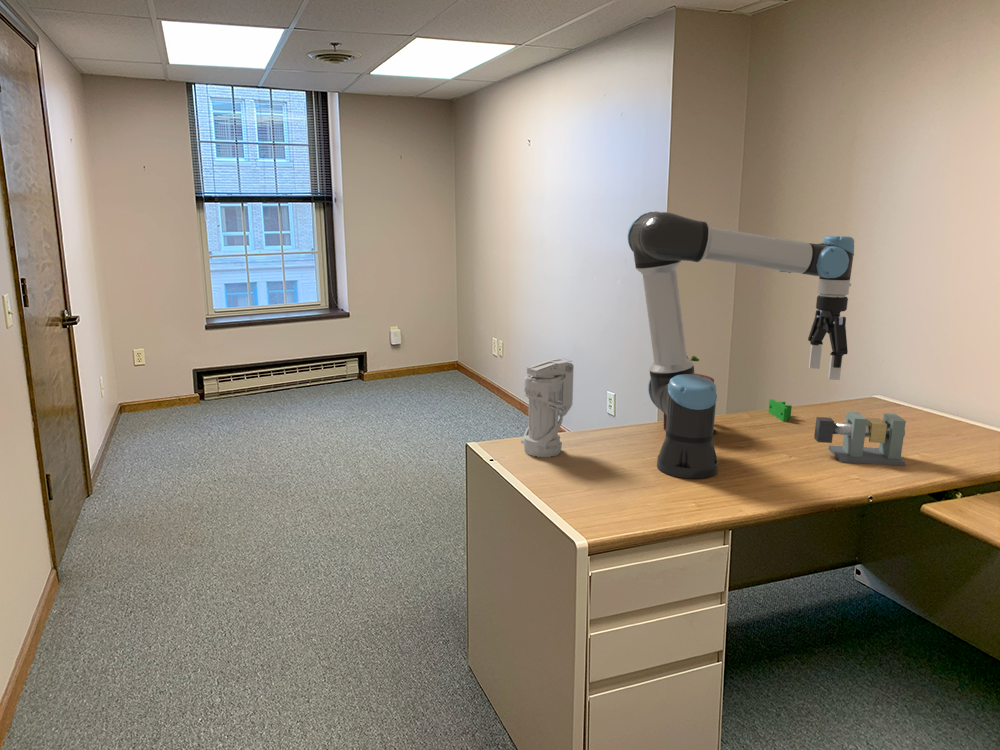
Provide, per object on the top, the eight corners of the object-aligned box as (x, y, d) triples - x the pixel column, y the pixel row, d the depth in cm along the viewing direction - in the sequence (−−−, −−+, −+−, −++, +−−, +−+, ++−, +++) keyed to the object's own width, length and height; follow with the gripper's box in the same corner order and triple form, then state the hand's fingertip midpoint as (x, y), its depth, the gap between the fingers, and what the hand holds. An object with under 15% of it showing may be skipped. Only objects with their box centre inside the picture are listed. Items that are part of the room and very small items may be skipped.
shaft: (898, 442, 195) (901, 421, 194) (903, 446, 192) (906, 424, 190) (814, 438, 198) (816, 417, 197) (817, 442, 195) (820, 420, 193)
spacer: (877, 436, 197) (879, 418, 195) (884, 443, 191) (887, 424, 190) (863, 436, 197) (865, 417, 196) (870, 442, 192) (872, 423, 190)
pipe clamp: (794, 422, 228) (796, 408, 227) (783, 422, 228) (784, 408, 227) (779, 412, 239) (780, 398, 238) (768, 412, 239) (769, 398, 238)
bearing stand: (889, 452, 200) (894, 411, 197) (904, 465, 189) (910, 423, 186) (828, 448, 202) (832, 409, 199) (840, 462, 191) (845, 420, 189)
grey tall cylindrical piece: (536, 460, 191) (538, 367, 185) (516, 448, 200) (517, 360, 194) (576, 452, 197) (579, 362, 191) (556, 442, 206) (558, 355, 200)
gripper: (868, 301, 179) (857, 384, 184) (828, 290, 204) (819, 364, 208) (837, 300, 180) (827, 383, 184) (801, 290, 204) (793, 363, 209)
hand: (823, 373), depth 196 cm, fingers open, 13 cm apart
